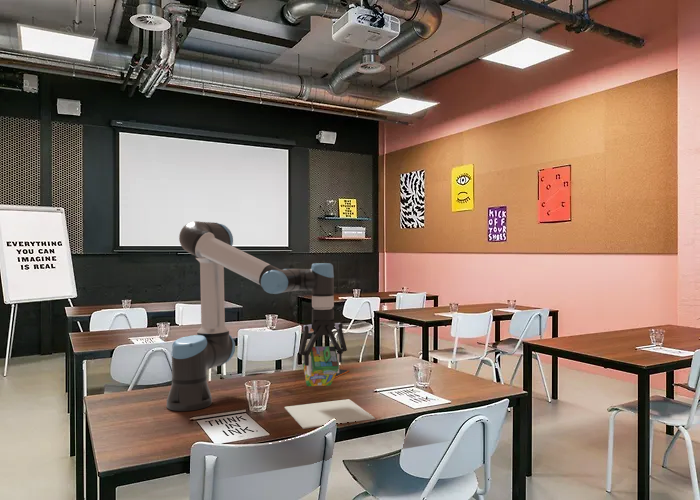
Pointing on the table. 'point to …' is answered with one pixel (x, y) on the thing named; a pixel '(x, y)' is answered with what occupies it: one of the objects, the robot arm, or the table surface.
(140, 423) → the table surface
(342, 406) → the mat
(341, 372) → the smartphone
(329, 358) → the chalk box
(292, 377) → the table surface
